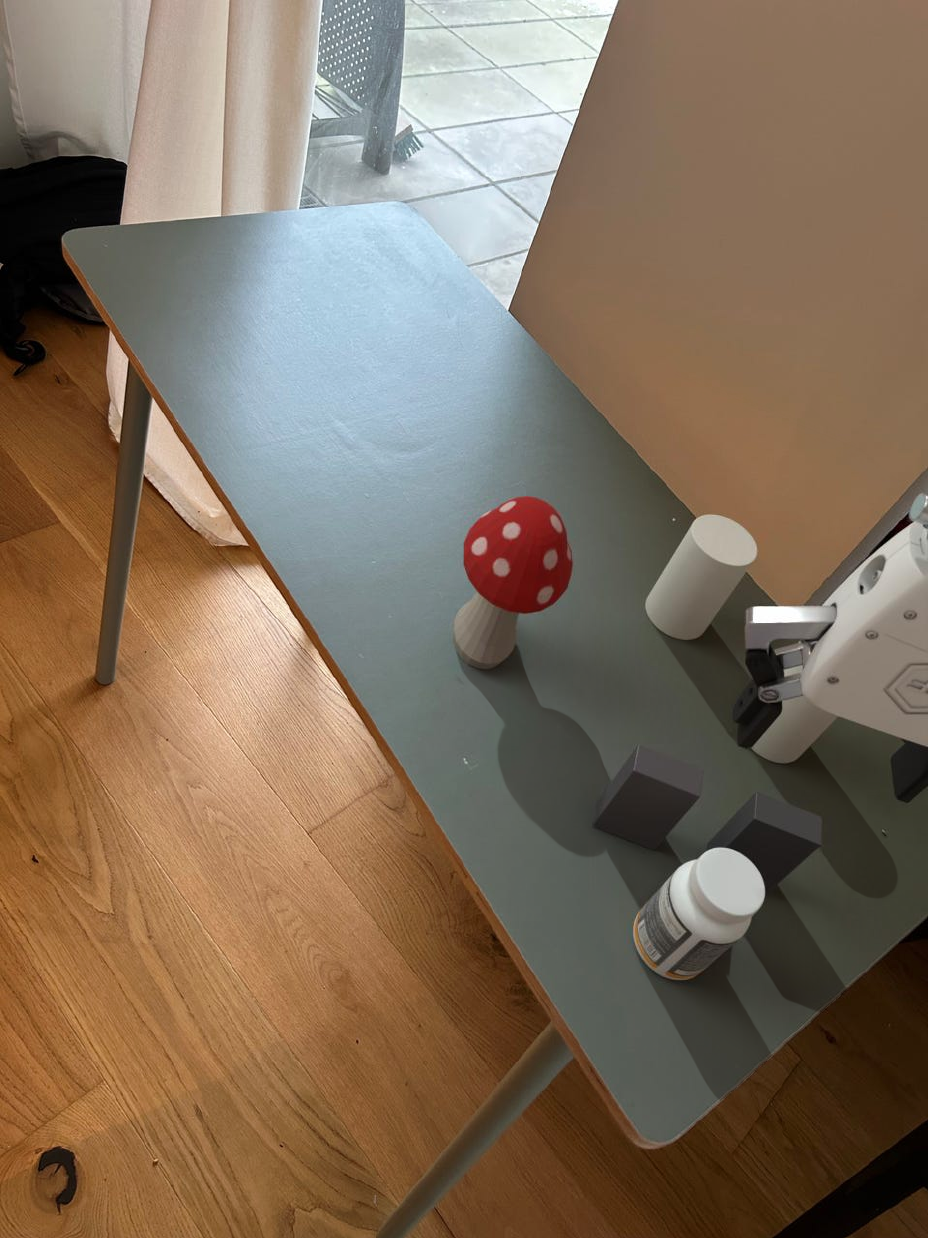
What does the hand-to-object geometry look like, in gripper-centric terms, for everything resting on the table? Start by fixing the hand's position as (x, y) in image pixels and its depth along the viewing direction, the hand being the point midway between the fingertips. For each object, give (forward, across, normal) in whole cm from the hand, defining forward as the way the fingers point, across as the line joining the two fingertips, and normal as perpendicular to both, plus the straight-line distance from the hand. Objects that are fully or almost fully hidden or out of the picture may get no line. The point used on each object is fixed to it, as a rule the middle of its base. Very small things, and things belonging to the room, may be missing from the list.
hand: (820, 754), depth 58 cm
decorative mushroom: (+20, -19, +18) cm, 33 cm away
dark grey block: (+20, +4, +4) cm, 21 cm away
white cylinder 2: (+20, +8, +19) cm, 28 cm away
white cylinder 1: (+20, -2, +29) cm, 35 cm away
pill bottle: (+20, 0, -3) cm, 21 cm away
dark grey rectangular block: (+20, -4, +5) cm, 21 cm away
